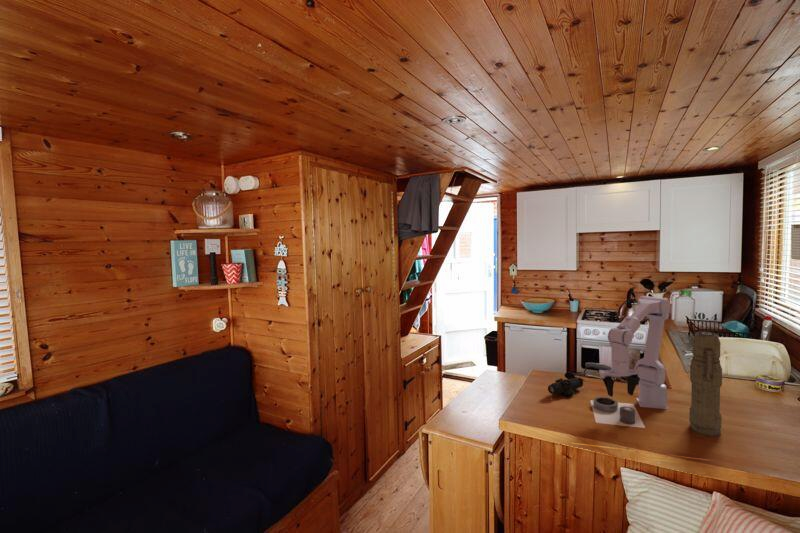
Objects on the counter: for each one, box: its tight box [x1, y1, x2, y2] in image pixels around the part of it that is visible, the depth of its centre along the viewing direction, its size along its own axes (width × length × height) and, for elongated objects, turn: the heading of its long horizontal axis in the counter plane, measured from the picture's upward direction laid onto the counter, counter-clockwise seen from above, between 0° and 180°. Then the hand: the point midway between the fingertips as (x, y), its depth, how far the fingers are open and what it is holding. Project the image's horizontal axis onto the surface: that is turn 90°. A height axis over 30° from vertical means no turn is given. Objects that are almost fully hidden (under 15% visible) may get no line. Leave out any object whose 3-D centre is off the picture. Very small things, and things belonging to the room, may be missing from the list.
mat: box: [589, 399, 646, 429], centre depth 152 cm, size 16×20×1 cm
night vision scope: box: [547, 371, 586, 398], centre depth 172 cm, size 8×18×10 cm
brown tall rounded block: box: [688, 330, 723, 438], centre depth 136 cm, size 9×12×35 cm
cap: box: [620, 407, 635, 424], centre depth 145 cm, size 5×5×5 cm
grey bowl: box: [592, 396, 619, 413], centre depth 157 cm, size 8×8×3 cm
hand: (620, 394), depth 147 cm, fingers open, 7 cm apart
